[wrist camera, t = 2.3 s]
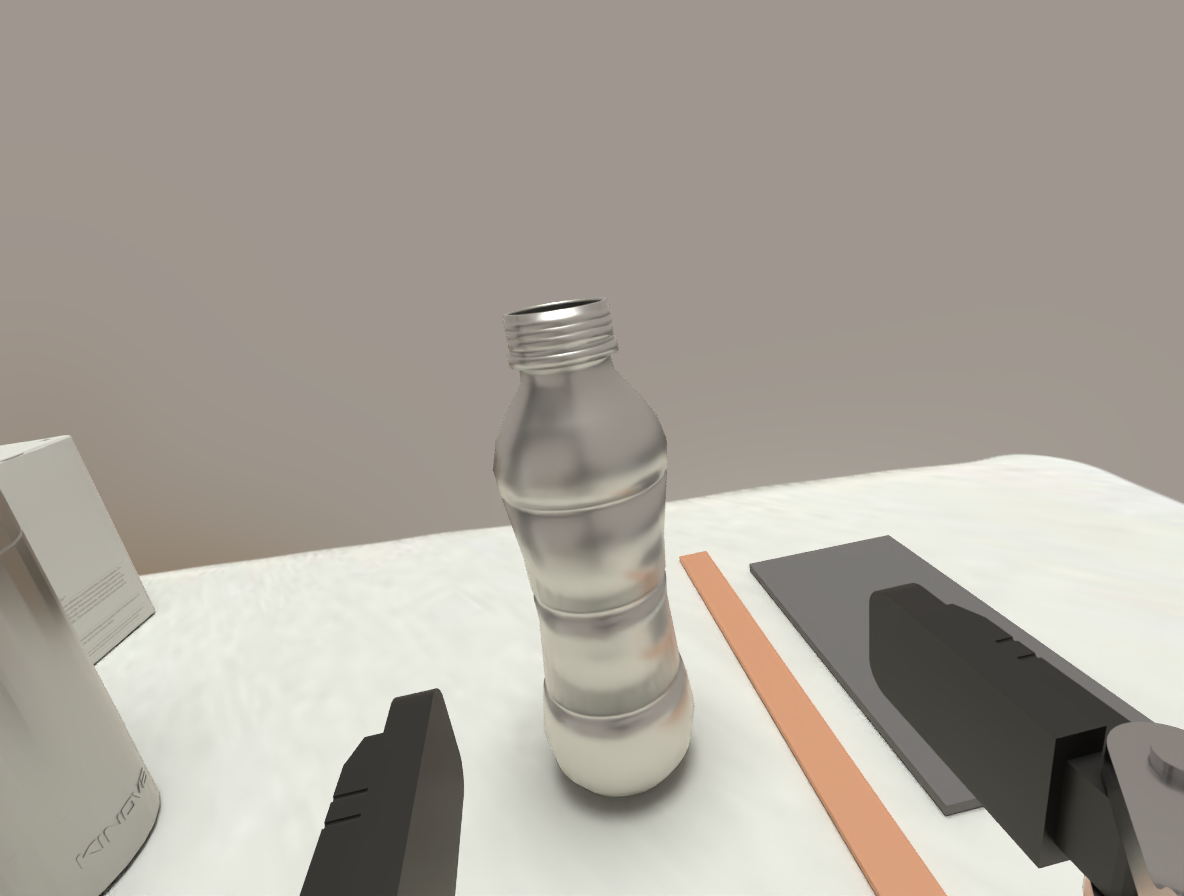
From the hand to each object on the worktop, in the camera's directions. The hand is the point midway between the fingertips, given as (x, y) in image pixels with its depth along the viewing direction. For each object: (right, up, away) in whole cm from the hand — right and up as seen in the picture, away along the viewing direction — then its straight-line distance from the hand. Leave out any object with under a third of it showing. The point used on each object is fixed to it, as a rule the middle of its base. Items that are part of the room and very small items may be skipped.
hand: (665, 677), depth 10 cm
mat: (+15, -6, +20) cm, 26 cm away
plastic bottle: (0, -10, +16) cm, 18 cm away
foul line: (+8, -7, +19) cm, 22 cm away
